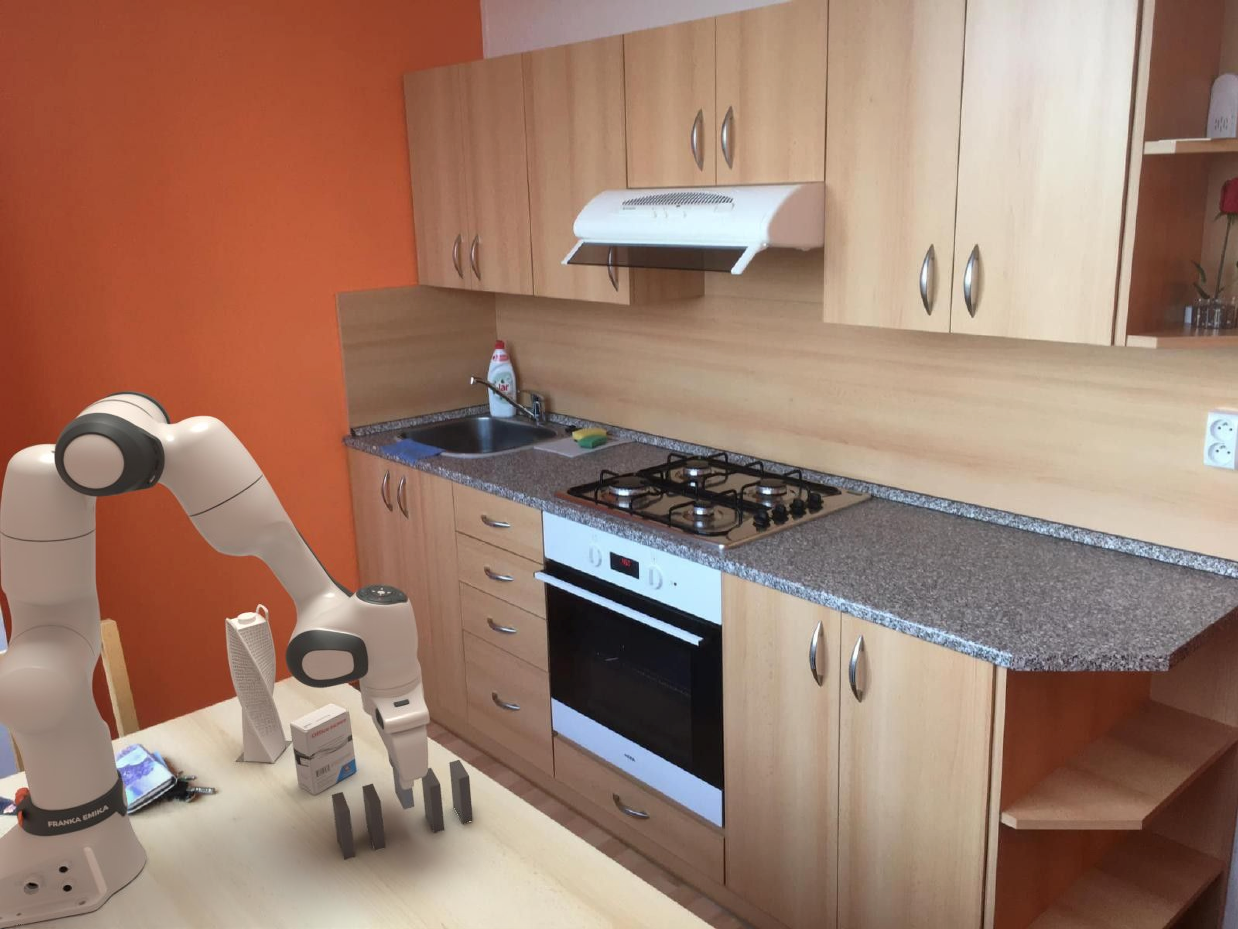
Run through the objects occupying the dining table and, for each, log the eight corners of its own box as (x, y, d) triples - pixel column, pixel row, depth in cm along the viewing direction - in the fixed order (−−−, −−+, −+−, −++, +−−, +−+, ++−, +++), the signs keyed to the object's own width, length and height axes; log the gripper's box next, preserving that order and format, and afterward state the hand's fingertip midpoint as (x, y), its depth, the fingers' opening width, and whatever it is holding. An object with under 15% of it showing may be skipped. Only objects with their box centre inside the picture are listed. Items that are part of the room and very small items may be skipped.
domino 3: (403, 809, 153) (398, 762, 151) (395, 792, 157) (390, 746, 155) (414, 806, 154) (409, 759, 151) (405, 789, 158) (400, 743, 156)
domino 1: (344, 860, 151) (338, 813, 149) (337, 841, 155) (331, 794, 153) (355, 857, 152) (349, 809, 149) (348, 838, 156) (342, 791, 154)
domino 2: (374, 851, 153) (369, 804, 150) (367, 832, 157) (362, 786, 155) (385, 847, 153) (380, 801, 151) (377, 829, 158) (372, 783, 155)
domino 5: (462, 824, 158) (458, 778, 156) (453, 807, 163) (449, 762, 160) (472, 821, 159) (469, 776, 157) (463, 804, 163) (459, 759, 161)
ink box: (340, 762, 176) (332, 700, 172) (358, 772, 173) (350, 709, 169) (296, 785, 170) (288, 721, 166) (314, 796, 166) (306, 731, 163)
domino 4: (434, 833, 156) (429, 787, 154) (425, 815, 161) (420, 770, 158) (444, 830, 157) (440, 784, 155) (435, 812, 161) (431, 767, 159)
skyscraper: (300, 743, 182) (280, 597, 175) (279, 769, 175) (257, 617, 167) (255, 741, 184) (233, 595, 176) (232, 766, 176) (209, 615, 168)
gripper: (355, 668, 158) (365, 747, 162) (387, 730, 140) (397, 818, 144) (396, 658, 161) (404, 737, 165) (432, 718, 143) (441, 804, 147)
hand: (401, 775), depth 154 cm, fingers closed on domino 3, 5 cm apart
